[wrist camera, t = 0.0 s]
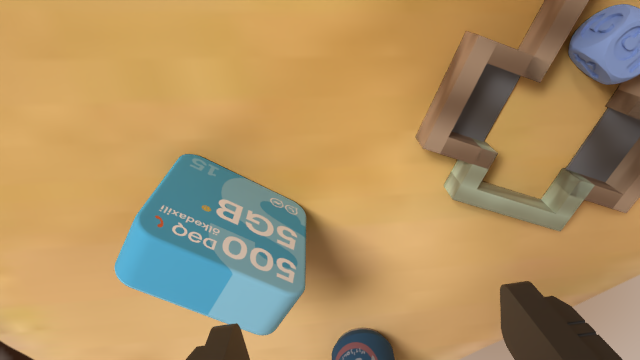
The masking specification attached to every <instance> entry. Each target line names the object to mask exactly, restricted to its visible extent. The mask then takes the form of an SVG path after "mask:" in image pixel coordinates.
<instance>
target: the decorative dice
mask: <svg viewBox="0 0 640 360" xmlns="http://www.w3.org/2000/svg"><path fill="white" fill-rule="evenodd" d="M568 54H569V57H570V58H571V60H572V61H573V62H574V64H575V65H576V66H577V67H578V68H579V69H580V70H582V71H583V72H584V73H585V74H587V75H588V76H589V77H591V78H592V79H594V80H596V81H598V82H600V83H602V84H606V85H609V84H618V83H622V82H625V81H628V80H630V79H632V78H634V77H636V76H638V75H640V9H639V8H637V7H634V6H631V5H627V4H621V5H614V6H611V7H608V8H606V9H604V10H602V11H600V12H598V13H596V14H595V15H593V16H592V17H590V18H589V19H588V20H586V21H585V22H584V23H583V24H582V25H581V26H580V27H579V28H578V29H577V30H576V31H575V33H574V34H573V36H572V38H571V41H570V44H569V50H568Z"/></svg>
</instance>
